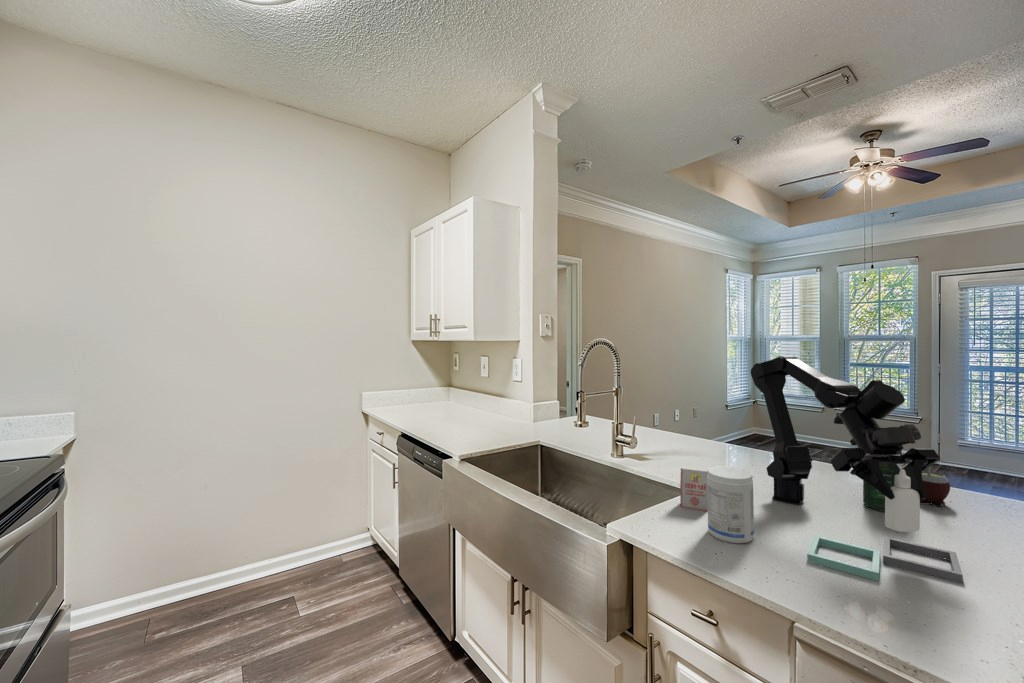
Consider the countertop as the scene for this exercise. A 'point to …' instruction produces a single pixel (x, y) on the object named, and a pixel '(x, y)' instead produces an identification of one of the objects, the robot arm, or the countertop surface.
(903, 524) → the eye dropper bottle
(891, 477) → the coffee jar
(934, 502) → the mate gourd
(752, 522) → the supplement tub
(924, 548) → the upper socket
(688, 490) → the white red printed box
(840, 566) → the lower socket
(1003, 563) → the countertop surface
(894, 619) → the countertop surface
